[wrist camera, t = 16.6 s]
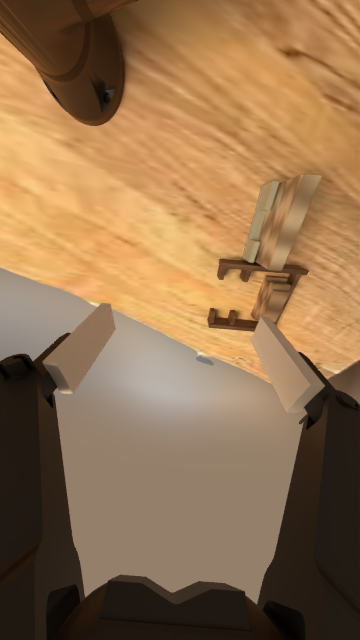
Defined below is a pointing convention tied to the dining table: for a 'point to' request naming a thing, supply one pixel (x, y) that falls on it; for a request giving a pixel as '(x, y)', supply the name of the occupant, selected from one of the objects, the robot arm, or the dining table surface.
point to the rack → (269, 297)
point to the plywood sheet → (285, 220)
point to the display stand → (259, 219)
